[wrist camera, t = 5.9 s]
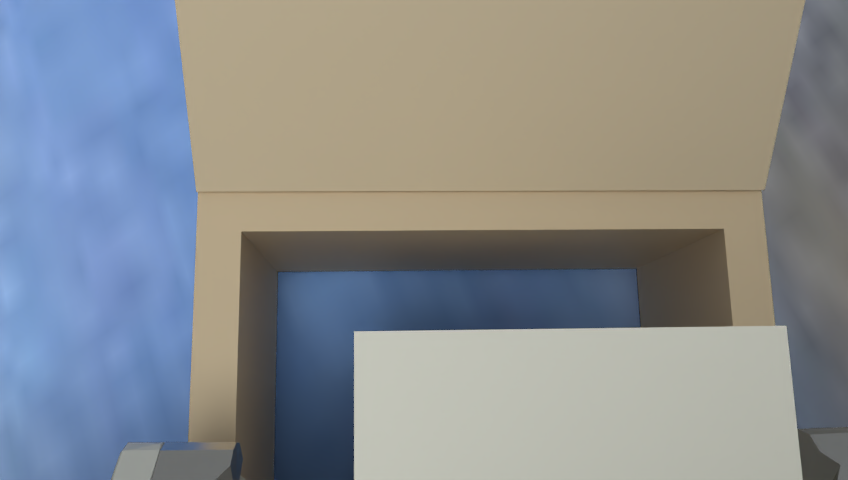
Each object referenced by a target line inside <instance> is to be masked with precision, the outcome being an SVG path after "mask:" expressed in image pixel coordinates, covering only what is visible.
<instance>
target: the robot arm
mask: <svg viewBox="0 0 848 480" xmlns="http://www.w3.org/2000/svg"><path fill="white" fill-rule="evenodd" d="M797 430H798V440H799V449H800V459H801V468H802V478H803V480H848V427H837V428H809V429H797ZM242 462H243V456H242V451H241V446H240V443H237V442H138V443H127V445H126V446H125V448H124V449H123V450H122V452H121V453H120V456H119V458H118V461H117V464H116V467H115V470H114V472H113V475H112V478H111V480H246V479H244V478H243V477H242V476H241V475H240V474H241V468H242Z"/></svg>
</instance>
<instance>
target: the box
mask: <svg viewBox="0 0 848 480" xmlns="http://www.w3.org/2000/svg"><path fill="white" fill-rule="evenodd" d="M354 480H803V478H802V468H801V459H800V449H799V440H798V430H797V421H796V411H795V402H794V392H793V383H792V374H791V364H790V355H789V345H788V336H787V326H727V327H651V328H575V329H499V330H424V331H354Z"/></svg>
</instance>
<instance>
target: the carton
mask: <svg viewBox="0 0 848 480" xmlns="http://www.w3.org/2000/svg"><path fill="white" fill-rule="evenodd" d="M804 4H805V0H175V5H176V14H177V23H178V32H179V41H180V50H181V58H182V67H183V76H184V85H185V94H186V103H187V112H188V121H189V130H190V139H191V148H192V157H193V166H194V175H195V184H196V192H198V207H197V232H196V258H195V283H194V308H193V333H192V359H191V384H190V409H189V434H188V442H237V443H240V446H241V451H242V456H243V462H242V468H241V474H240V475H241V476H242V477H243V478H244V479H246V480H274V450H275V397H276V344H277V292H278V272H311V271H424V270H537V269H637V280H638V295H639V309H640V323H641V328H651V327H727V326H775V318H774V309H773V299H772V289H771V280H770V270H769V260H768V251H767V241H766V231H765V221H764V212H763V202H762V192H761V190H765V186H766V182H767V177H768V172H769V168H770V163H771V158H772V154H773V149H774V144H775V140H776V135H777V130H778V125H779V121H780V116H781V111H782V107H783V102H784V97H785V93H786V88H787V83H788V79H789V74H790V69H791V65H792V60H793V55H794V51H795V46H796V41H797V37H798V32H799V27H800V23H801V18H802V13H803V9H804Z"/></svg>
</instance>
